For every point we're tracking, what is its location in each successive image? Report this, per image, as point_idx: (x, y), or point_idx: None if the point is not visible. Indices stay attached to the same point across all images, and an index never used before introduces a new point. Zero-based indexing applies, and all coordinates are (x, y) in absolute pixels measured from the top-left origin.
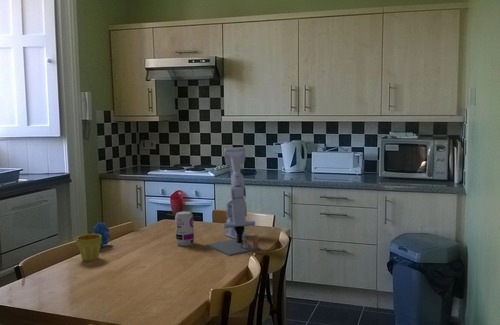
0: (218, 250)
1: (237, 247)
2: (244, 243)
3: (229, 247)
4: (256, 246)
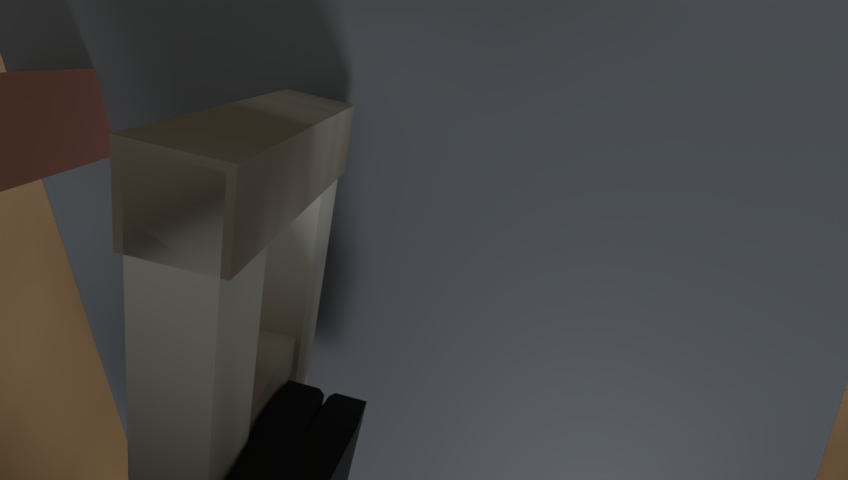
0: (817, 442)
1: (413, 353)
2: (307, 175)
3: (541, 444)
4: (37, 72)
